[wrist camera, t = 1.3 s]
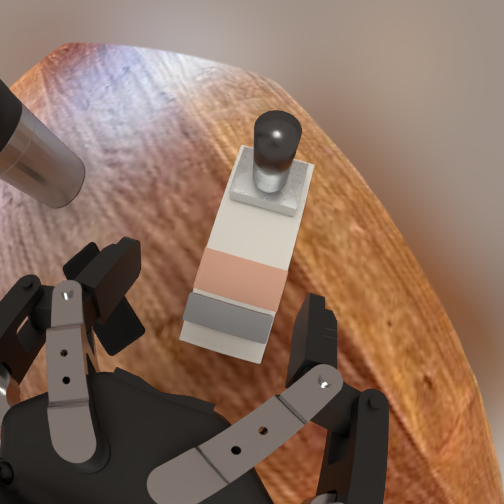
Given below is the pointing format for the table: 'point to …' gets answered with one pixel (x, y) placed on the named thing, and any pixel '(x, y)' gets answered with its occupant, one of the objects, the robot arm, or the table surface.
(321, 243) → the table surface
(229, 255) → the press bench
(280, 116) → the press jaw
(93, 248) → the smartphone
